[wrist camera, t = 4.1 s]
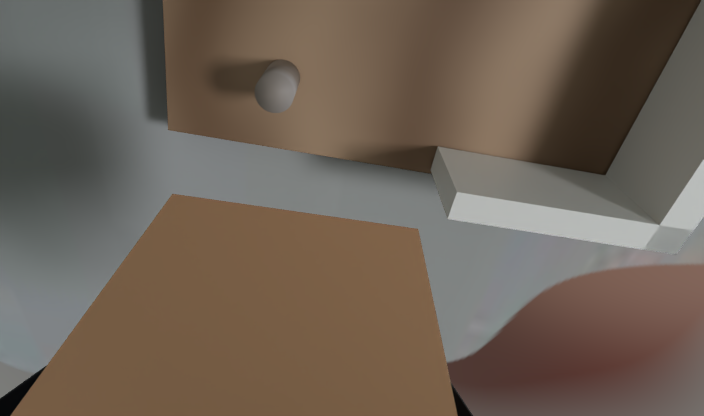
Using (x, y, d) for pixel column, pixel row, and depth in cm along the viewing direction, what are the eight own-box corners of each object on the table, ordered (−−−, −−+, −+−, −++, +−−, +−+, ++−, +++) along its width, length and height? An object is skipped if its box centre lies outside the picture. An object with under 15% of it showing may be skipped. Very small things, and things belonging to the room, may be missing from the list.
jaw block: (418, 228, 8) (486, 551, 4) (372, 381, 10) (384, 685, 6) (172, 194, 8) (-56, 505, 3) (183, 359, 10) (54, 665, 6)
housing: (867, -215, 11) (1058, -274, 8) (621, 201, 18) (675, 254, 15) (574, -298, 10) (666, -397, 7) (430, 169, 17) (447, 218, 14)
